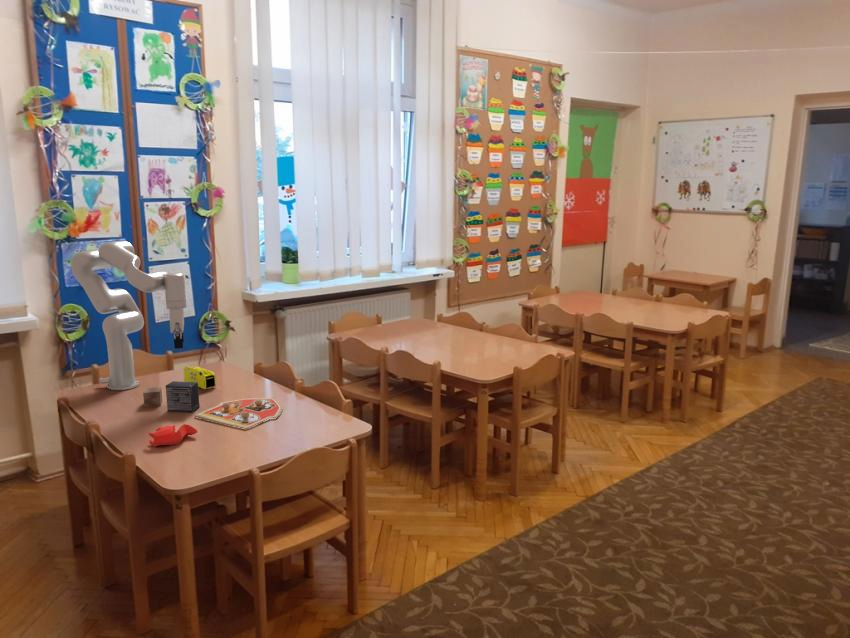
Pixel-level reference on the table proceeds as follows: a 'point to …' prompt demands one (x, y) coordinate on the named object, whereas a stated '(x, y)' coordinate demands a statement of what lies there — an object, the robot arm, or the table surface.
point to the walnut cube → (152, 397)
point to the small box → (182, 396)
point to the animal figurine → (171, 435)
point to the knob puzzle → (243, 412)
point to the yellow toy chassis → (200, 377)
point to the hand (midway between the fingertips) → (179, 345)
